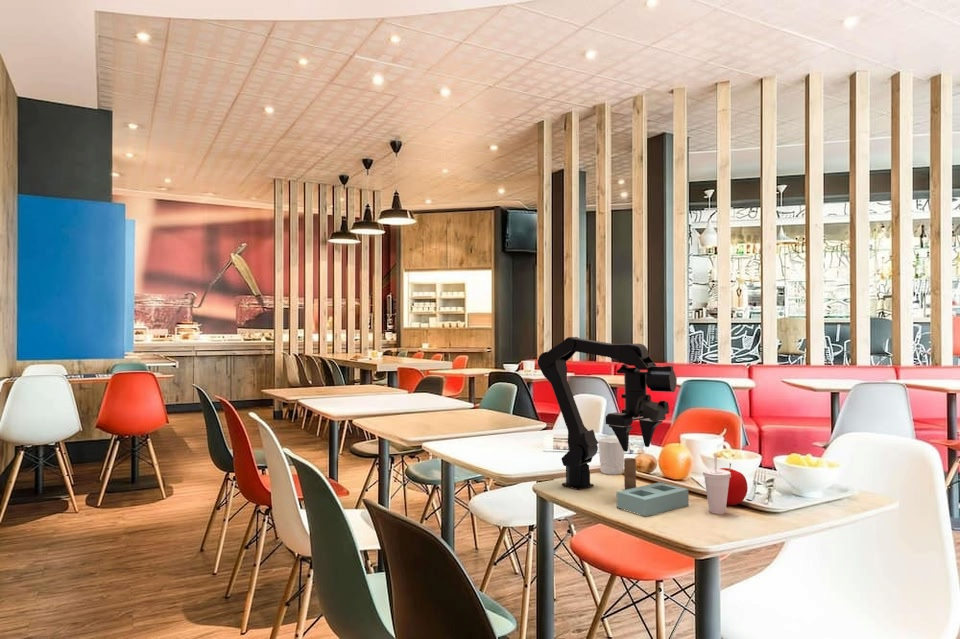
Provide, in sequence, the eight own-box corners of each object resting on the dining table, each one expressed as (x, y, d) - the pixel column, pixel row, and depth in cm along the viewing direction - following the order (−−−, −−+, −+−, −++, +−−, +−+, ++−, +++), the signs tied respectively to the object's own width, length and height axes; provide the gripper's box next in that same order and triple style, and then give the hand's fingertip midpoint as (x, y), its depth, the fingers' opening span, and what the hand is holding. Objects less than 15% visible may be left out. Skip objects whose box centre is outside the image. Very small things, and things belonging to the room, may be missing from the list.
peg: (622, 494, 167) (621, 458, 167) (629, 492, 169) (629, 457, 169) (630, 496, 165) (630, 460, 165) (638, 494, 166) (638, 459, 166)
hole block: (617, 507, 155) (616, 491, 155) (659, 497, 164) (659, 482, 164) (645, 516, 147) (645, 499, 147) (688, 505, 156) (688, 489, 156)
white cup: (599, 474, 189) (598, 441, 189) (598, 469, 197) (598, 437, 197) (625, 475, 188) (625, 442, 188) (624, 469, 196) (623, 437, 196)
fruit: (755, 507, 154) (754, 466, 154) (719, 508, 153) (718, 467, 153) (737, 497, 163) (736, 459, 163) (703, 498, 162) (702, 460, 162)
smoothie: (698, 512, 150) (697, 454, 151) (709, 506, 155) (708, 450, 155) (725, 517, 146) (724, 457, 146) (735, 511, 151) (734, 453, 151)
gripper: (638, 395, 155) (639, 458, 154) (682, 390, 166) (683, 448, 166) (603, 392, 163) (604, 452, 163) (647, 387, 175) (648, 443, 175)
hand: (636, 449), depth 167 cm, fingers open, 9 cm apart
